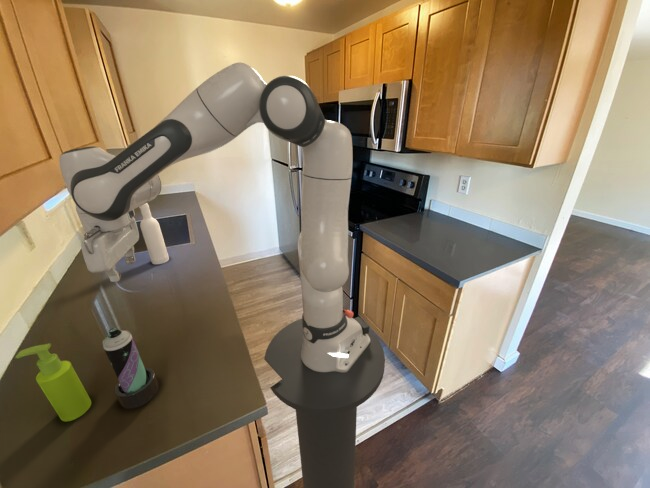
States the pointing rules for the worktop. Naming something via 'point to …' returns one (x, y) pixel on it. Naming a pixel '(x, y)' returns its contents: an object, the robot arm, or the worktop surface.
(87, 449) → the worktop surface
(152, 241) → the bottle
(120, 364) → the spray can
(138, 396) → the dark round bowl
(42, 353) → the soap dispenser
